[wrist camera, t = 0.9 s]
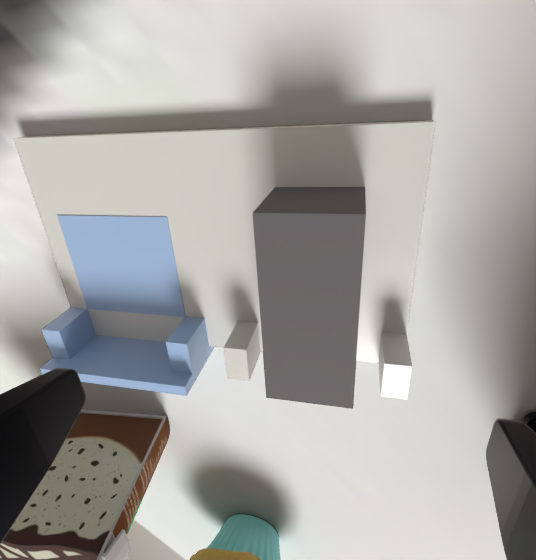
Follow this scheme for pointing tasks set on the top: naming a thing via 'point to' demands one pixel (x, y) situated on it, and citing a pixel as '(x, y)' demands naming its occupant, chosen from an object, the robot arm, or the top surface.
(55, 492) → the food container
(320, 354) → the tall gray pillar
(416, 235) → the miniature room diorama
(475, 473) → the top surface
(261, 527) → the cupcake
